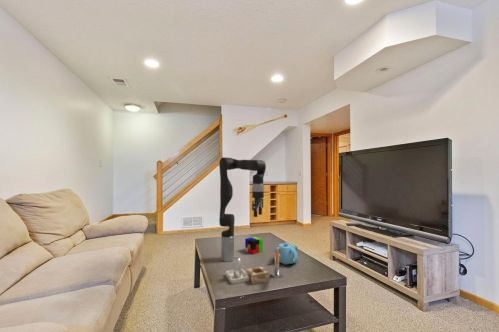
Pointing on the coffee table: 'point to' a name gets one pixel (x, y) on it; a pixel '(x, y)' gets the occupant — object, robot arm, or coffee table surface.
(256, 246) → the puzzle toy
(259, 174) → the robot arm
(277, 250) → the bar
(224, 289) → the coffee table surface
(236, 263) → the silver metal cylinder
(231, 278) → the tray
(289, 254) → the decorative pot
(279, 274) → the pivot post
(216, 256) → the coffee table surface
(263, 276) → the block
